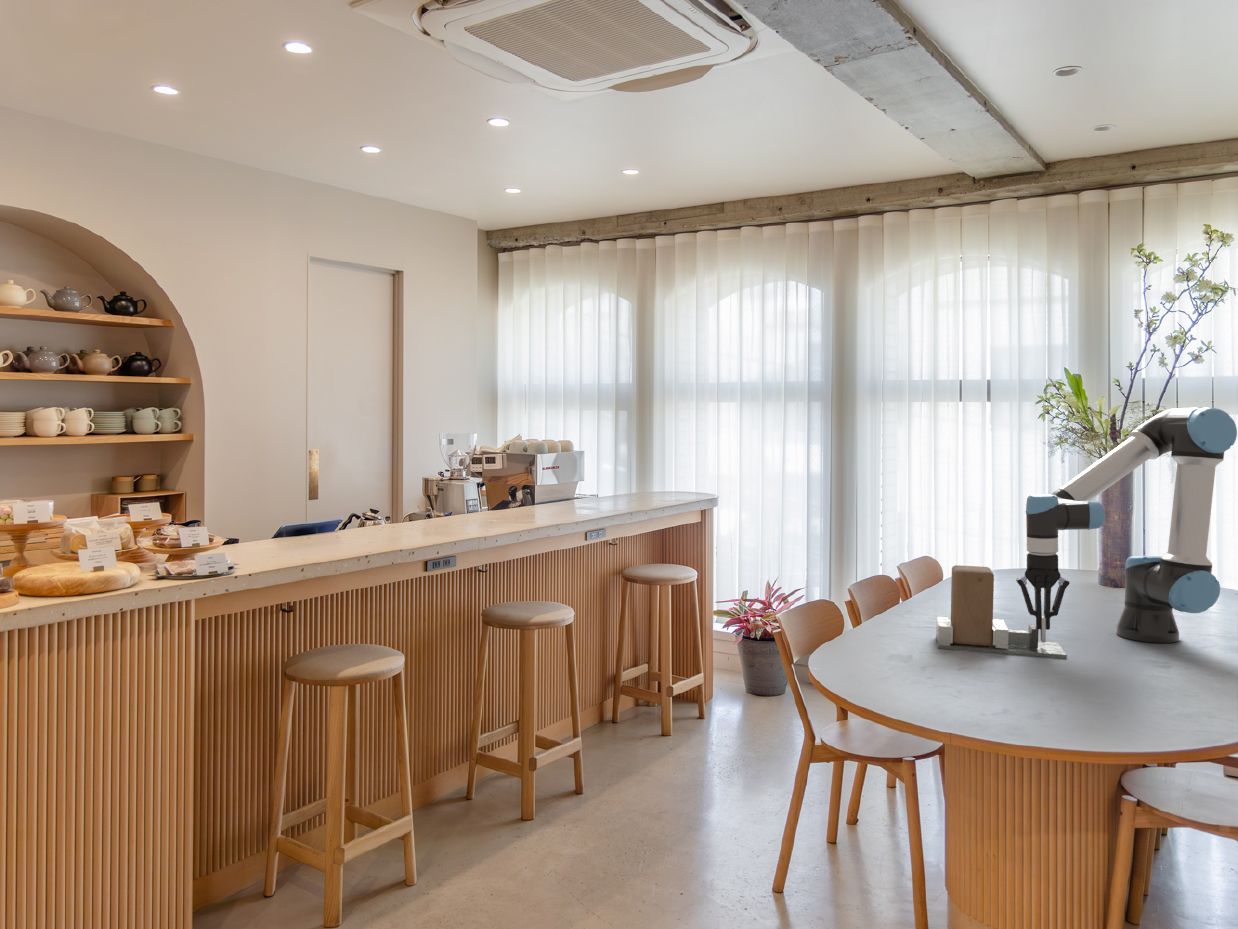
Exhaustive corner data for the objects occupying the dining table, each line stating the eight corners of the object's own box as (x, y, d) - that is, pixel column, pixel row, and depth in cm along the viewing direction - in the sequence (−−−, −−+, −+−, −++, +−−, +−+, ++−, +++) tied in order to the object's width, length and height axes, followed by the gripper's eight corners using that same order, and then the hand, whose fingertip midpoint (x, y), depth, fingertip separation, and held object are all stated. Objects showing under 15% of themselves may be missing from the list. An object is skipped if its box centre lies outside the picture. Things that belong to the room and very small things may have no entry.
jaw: (1032, 640, 237) (1033, 622, 236) (1039, 651, 225) (1040, 632, 225) (988, 636, 240) (988, 619, 240) (993, 647, 229) (993, 628, 228)
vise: (1057, 646, 235) (1058, 624, 235) (1066, 658, 223) (1067, 635, 223) (936, 637, 245) (936, 616, 244) (938, 648, 232) (938, 626, 232)
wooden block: (992, 647, 230) (994, 572, 229) (952, 644, 233) (953, 570, 232) (988, 638, 240) (990, 566, 239) (950, 635, 243) (951, 564, 242)
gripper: (1065, 551, 231) (1066, 639, 232) (1014, 550, 235) (1015, 637, 236) (1071, 555, 224) (1071, 646, 225) (1018, 554, 228) (1019, 643, 229)
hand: (1043, 641), depth 230 cm, fingers closed
